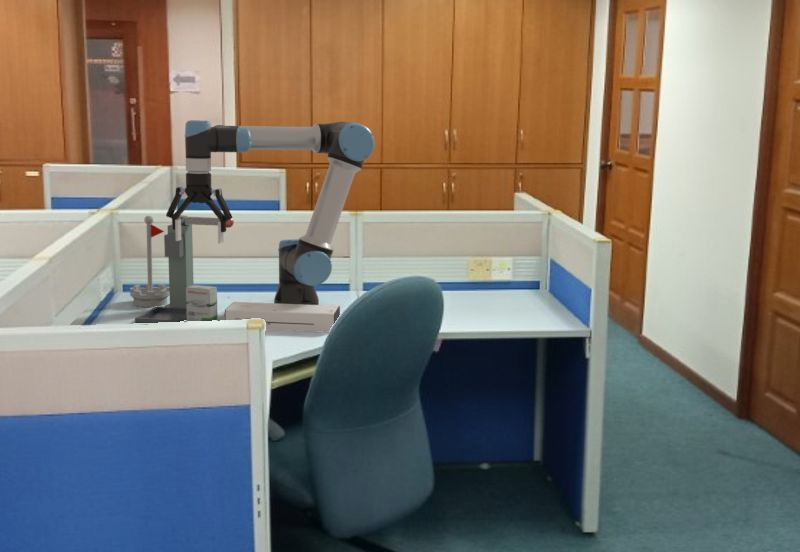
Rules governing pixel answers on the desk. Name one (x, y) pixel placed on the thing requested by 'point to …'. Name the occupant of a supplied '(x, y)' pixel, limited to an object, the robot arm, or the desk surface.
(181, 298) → the column
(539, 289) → the desk surface
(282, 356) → the desk surface
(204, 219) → the lever
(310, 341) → the desk surface
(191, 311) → the ink box
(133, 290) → the flag stand
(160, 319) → the tray
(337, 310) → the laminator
